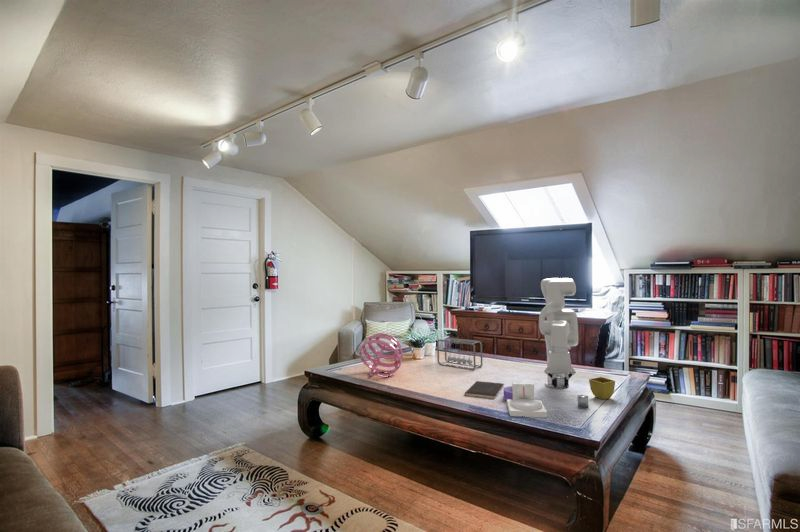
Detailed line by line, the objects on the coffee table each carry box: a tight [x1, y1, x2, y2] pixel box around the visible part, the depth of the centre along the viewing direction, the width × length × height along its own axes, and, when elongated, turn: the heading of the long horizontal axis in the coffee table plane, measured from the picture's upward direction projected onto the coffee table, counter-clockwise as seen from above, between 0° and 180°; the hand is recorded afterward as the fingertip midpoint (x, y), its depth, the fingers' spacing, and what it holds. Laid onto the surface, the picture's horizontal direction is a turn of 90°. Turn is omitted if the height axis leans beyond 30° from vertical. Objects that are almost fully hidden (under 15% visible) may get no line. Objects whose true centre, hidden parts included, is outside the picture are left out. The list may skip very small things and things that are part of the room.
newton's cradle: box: [436, 337, 483, 370], centre depth 278 cm, size 30×10×18 cm, turn 50°
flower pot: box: [588, 376, 616, 400], centre depth 204 cm, size 9×9×9 cm
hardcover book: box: [464, 380, 505, 399], centre depth 220 cm, size 16×23×2 cm
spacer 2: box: [577, 394, 590, 409], centre depth 192 cm, size 5×5×5 cm
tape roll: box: [502, 385, 513, 401], centre depth 206 cm, size 12×12×5 cm
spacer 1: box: [555, 376, 566, 390], centre depth 194 cm, size 5×5×5 cm
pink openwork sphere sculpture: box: [358, 332, 404, 378], centre depth 258 cm, size 28×28×27 cm
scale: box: [506, 382, 548, 418], centre depth 190 cm, size 18×16×10 cm
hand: (560, 386), depth 194 cm, fingers closed on spacer 1, 4 cm apart
